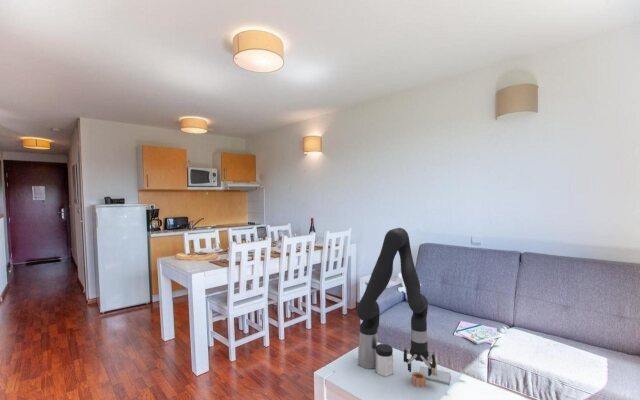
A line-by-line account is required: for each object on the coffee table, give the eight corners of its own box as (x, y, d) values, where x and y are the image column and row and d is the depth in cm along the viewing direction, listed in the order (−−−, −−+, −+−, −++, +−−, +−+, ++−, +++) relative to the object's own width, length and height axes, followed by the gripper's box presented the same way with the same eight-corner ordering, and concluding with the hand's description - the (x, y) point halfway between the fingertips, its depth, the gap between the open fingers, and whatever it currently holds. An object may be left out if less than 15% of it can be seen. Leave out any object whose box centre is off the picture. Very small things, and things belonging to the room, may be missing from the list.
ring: (411, 385, 145) (411, 377, 145) (413, 378, 150) (413, 371, 150) (424, 388, 142) (424, 381, 142) (426, 381, 148) (426, 374, 147)
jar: (383, 378, 150) (383, 353, 150) (372, 370, 157) (372, 346, 157) (396, 372, 155) (396, 348, 155) (384, 365, 162) (384, 342, 162)
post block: (417, 377, 151) (418, 358, 150) (420, 368, 159) (420, 350, 159) (449, 385, 145) (449, 365, 144) (450, 375, 153) (450, 356, 153)
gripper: (401, 339, 145) (402, 374, 145) (434, 344, 139) (435, 381, 139) (405, 332, 152) (405, 366, 152) (436, 338, 146) (436, 372, 146)
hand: (419, 373), depth 145 cm, fingers open, 8 cm apart
